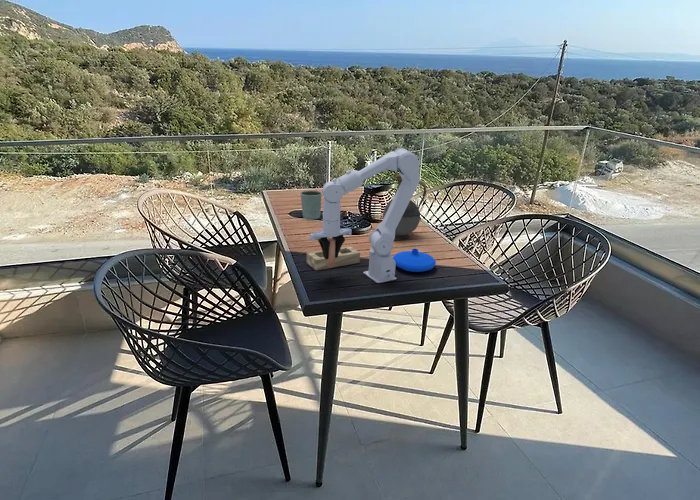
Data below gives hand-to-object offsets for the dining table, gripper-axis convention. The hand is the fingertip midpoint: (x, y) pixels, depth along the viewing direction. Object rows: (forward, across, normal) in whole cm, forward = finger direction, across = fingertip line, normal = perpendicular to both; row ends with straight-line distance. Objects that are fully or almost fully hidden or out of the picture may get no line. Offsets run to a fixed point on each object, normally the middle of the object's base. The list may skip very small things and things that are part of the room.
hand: (330, 257), depth 152 cm
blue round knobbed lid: (+8, -32, +5) cm, 33 cm away
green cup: (+8, -24, -67) cm, 72 cm away
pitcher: (+8, -49, -25) cm, 55 cm away
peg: (+3, 0, 0) cm, 3 cm away
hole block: (+7, -7, -11) cm, 15 cm away
